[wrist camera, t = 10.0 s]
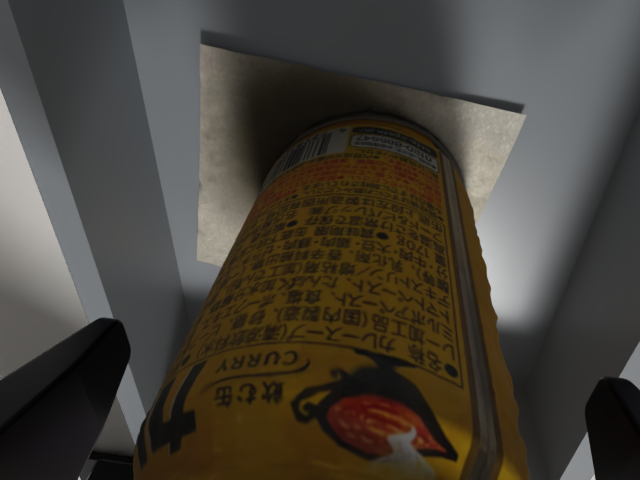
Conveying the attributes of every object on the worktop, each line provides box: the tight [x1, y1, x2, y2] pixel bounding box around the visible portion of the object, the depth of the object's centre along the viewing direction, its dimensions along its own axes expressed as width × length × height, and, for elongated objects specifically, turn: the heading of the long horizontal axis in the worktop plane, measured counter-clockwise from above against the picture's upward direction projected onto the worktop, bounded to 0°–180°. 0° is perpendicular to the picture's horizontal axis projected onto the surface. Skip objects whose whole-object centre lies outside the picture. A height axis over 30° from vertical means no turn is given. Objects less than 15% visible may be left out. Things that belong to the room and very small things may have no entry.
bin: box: [0, 0, 640, 480], centre depth 13 cm, size 17×15×5 cm
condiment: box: [133, 44, 530, 480], centre depth 9 cm, size 7×8×12 cm
